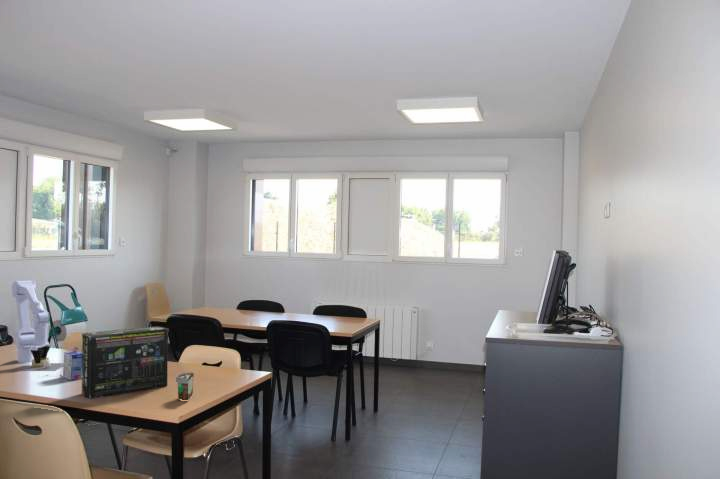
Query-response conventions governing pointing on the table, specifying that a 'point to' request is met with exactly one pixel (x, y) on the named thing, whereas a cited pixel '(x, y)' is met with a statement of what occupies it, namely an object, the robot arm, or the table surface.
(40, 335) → the robot arm
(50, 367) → the board
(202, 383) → the table surface
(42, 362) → the wooden collar
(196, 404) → the table surface
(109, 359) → the router box
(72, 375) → the ink cartridge box
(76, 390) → the table surface
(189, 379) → the food container
